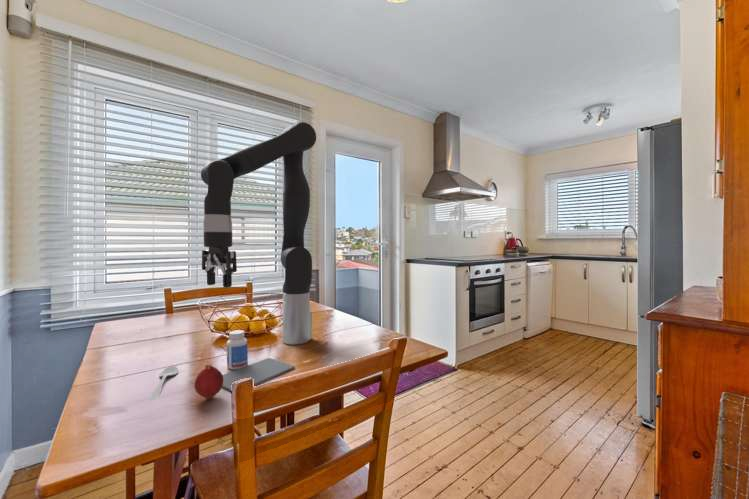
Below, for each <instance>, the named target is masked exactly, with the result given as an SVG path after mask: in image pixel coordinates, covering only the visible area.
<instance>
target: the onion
mask: <svg viewBox="0 0 749 499" xmlns="http://www.w3.org/2000/svg"><path fill="white" fill-rule="evenodd" d="M223 375H224V374H222V372H221V371H220V370H219V369H218V368H217V367H214V366H213V365H212V364H209V363H208V364H206V365H205V368H204V369H202V370H201V371H200V372H199V373H198V374H197V375H196V378H195V381H194V390H195V392H196V393H197V395H199V396H200V397H202V398H205V399H206V400H211V399H213V398H214V397H215V396H216V395H217V394H218V393H219V392H220V391H221V389H223V388H222V386H223Z"/></svg>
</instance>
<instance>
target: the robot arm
mask: <svg viewBox="0 0 749 499" xmlns="http://www.w3.org/2000/svg"><path fill="white" fill-rule="evenodd" d="M316 141H317V133H316V129H315V128H314V127H313V126H312V125H311V124H310V123H307V122H304V121H303V122H301V121H299V122H295V123H294V124H293V123H292V124H291V125H288V126H287V127H285V129H284V130H283V132H282V133H281V134H279V135H277V136H274V137H272V138H269V139H267V140H264V141H261V142H258V143H255V144H253V145H252V144H251V145H249V146H247V147H245V148H242V149H240V150H238V151H235V152H234V153H231V154H230V155H228V156H226V157H223V158H221V159H215V160H213V161H210V162H208V163H206V164H204V166H203V167H202V169H201V171H200V178H201V180H202V181H203V183H204V184H205V185H207V193H206V195H205V197H204V201H203V203H204V204H203V208H204V209H203V211H204V212H203V213H204V215H203V216H204V218H203V247H204V248H208V249H203V250H202V251H201V269H202V271H205V273H206V285H207V286H214V285H215V284H216V272H215V271H216V269H217V267H218V268H219V269H220V270H221V273H222V274H223V275H222V287H223V288H225V289H227V288H231V287H232V284H233V283H232V280H233V279H232V277H233V276H232V275H233V274H234V273H236V272H237V271H238V269H237V268H238V267H237V251H235V250H234V251H233V250H232V251H231V250H229V248H231V247H232V246H233V221H232V203H231V202H232V201H231V200H232V196H233V190H234V189H233V188H234V182H235V179H237V178H238V177H241V176H245V175H249V174H250V173H253V172H255V171H257V170H259V169H261V168H263V167H265V166H267V165H269V164H271V163H273V162H274V161H275V162H276V160H278V159H280V158H282V161H283V175H282V176H283V179H282V180H283V181H282V182H283V186H282V225H283V237H282V245H281V253H280V263H281V265H282V267H283V269H285V270H284V271H285V272H284V282H283V285H282V342H283V343H284V344H286V345H302V344H306V343H308V342H309V341H311V340H312V338H313V336H312V335H313V332H312V331H313V328H312V327H313V323H312V322H313V316H312V315H313V314H312V311H310V310H311V292H310V291H311V285H312V279H313V278H312V277H313V276H312V275H313V258H312V254H311V252H310V251H309V250H308V249H307V248H305V228H306V225H307V223H308V222H307V221H308V219H309V213H310V208H311V206H310V205H311V189H310V185H309V183H308V180H307V178H306V175H305V172H304V168H303V164H304V163H303V160H304V152H306V151H308V150H310V149H311V148H313V147H314V145H315V144H316Z"/></svg>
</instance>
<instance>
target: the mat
mask: <svg viewBox="0 0 749 499" xmlns="http://www.w3.org/2000/svg"><path fill="white" fill-rule="evenodd" d="M293 368H294V369H295V368H296V366H295V365H291V364H289V363H286V362H283V361H280V360H277V359H273V358H270V357H268V358H265V359H262V360H259V361H257V362H254V363H251V364H247V366H246V367H243V368H240V369H234V370H233V371H232V370H231V371H230V372H228V373H224V374H222V375H223V386H222V388H221V389H224V390H226V391H229V392H230V393H232V392H231V385H232V383H233V382H235V381H238V380H240V379H244V378H250V377H251V378H253V379H254V386H253V387H256V386H258V385H260V384H262V383H264V382H266V381H269V380H271V378H272V379H273V377H274V378H276V377H278V376H281V375H283V374H285V373H287V372H286V371H288V370H290V371H292V370H294V369H293ZM291 369H292V370H291ZM284 372H285V373H284ZM288 372H289V371H288ZM282 373H283V374H282ZM280 374H281V375H280ZM275 376H276V377H275ZM268 379H269V380H268Z"/></svg>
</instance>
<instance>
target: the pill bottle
mask: <svg viewBox="0 0 749 499" xmlns="http://www.w3.org/2000/svg"><path fill="white" fill-rule="evenodd" d="M228 333H229V334H228V338H229V339H228V340H227V341H226V367H227V369H229V370H238V369H240V368H243V367H246V366H248V365H249V364H248V363H249V360H248V357H249V355H248V340H247V338H246V337H245V336H246V334H245V330H242V329H236V330H231V331H229V332H228Z"/></svg>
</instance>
